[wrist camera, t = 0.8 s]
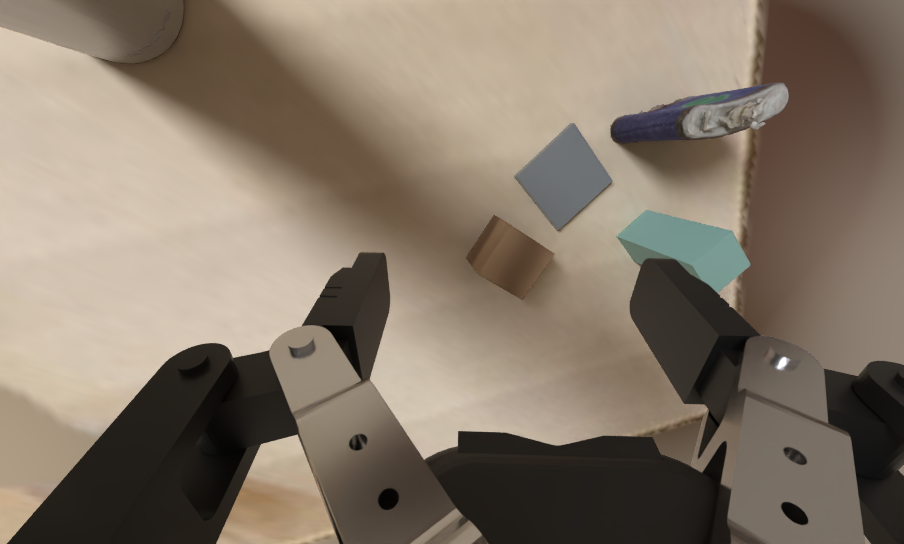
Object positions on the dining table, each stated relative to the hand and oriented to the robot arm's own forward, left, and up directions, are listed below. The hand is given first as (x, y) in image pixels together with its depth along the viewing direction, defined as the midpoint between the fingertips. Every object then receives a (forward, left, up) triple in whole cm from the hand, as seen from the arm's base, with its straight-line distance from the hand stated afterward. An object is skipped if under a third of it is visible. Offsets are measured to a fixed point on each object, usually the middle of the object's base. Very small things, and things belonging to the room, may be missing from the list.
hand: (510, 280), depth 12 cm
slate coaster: (+8, +11, -24) cm, 27 cm away
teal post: (+19, +14, -23) cm, 33 cm away
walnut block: (+9, +2, -23) cm, 25 cm away
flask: (+10, +21, -23) cm, 33 cm away
